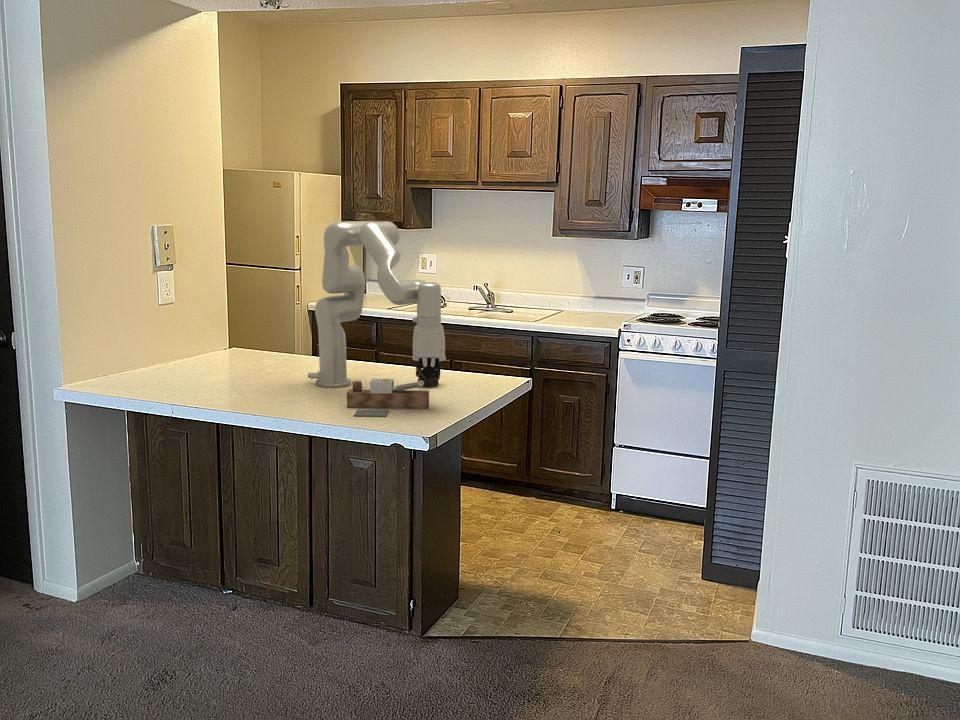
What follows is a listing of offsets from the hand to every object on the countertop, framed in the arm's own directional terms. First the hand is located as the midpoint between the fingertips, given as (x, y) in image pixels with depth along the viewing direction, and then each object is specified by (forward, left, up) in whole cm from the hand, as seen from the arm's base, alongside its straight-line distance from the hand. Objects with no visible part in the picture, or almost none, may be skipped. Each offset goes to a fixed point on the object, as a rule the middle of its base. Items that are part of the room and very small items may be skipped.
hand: (429, 378), depth 273 cm
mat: (-17, -9, -10) cm, 22 cm away
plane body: (-13, 0, -10) cm, 16 cm away
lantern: (-3, +32, -10) cm, 33 cm away
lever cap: (-15, 0, -5) cm, 16 cm away
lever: (-11, 0, -4) cm, 11 cm away
